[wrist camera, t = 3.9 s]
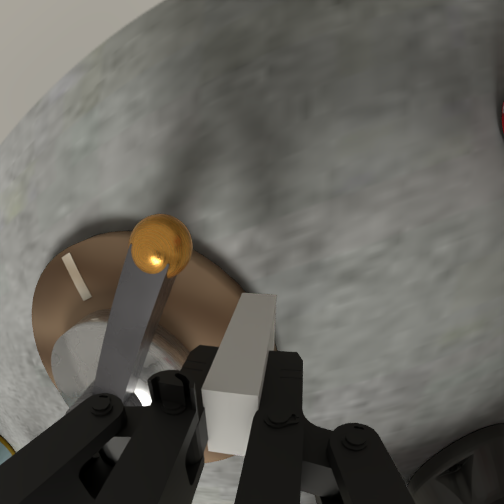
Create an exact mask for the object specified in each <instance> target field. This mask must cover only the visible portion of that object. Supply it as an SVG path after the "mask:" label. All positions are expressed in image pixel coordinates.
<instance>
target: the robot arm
mask: <svg viewBox="0 0 504 504" xmlns="http://www.w3.org/2000/svg"><path fill="white" fill-rule="evenodd" d="M276 298H277V295H270V294H254V293H242V294H241V297H240V299H239V302H238V304H237V306H236V309H235V311H234V313H233V316H232V318H231V321H230V323H229V325H228V328H227V330H226V332H225V335H224V337H223V339H222V342H221V344H220V347H215V346H206V345H199V346H197V347H196V348H195V349H193V350H192V351H190V353H189V355H188V357H187V359H186V362H184V364H183V366H182V369H180V371H179V370H164V371H159V372H157V373H155V374H153V375H152V376H151V377H149V378H148V379H147V382H148V387H149V392H150V396H151V401H152V402H151V404H150V405H148V406H124V405H123V403H122V400H121V399H120V398H119V397H117V396H116V395H113V394H109V393H99V394H95V395H92V396H90V397H89V398H87V399H85V400H84V401H83V402H82V403H80V404H79V405H78V406H76V407H75V408H74V409H73V410H71V411H70V412H69V413H67V414H66V415H65V416H63V417H62V418H61V419H60V420H58V421H57V422H56V423H54V424H53V425H52V426H51V427H49V428H48V429H47V430H45V431H44V432H43V433H41V434H40V435H39V436H37V437H36V438H35V439H34V440H32V441H31V442H30V443H28V444H27V445H26V446H24V447H23V448H22V449H20V450H19V451H18V452H17V453H15V454H14V455H13V456H11V457H10V458H9V459H7V460H6V461H5V462H3V463H2V464H1V465H0V504H191V503H192V500H193V497H194V494H195V491H196V488H197V485H198V482H199V479H200V476H201V473H202V470H203V467H204V460H205V458H204V450H205V447H206V444H208V451H211V452H218V453H224V454H232V455H239V456H245V458H244V463H243V468H242V472H241V477H240V481H239V485H238V490H237V494H236V499H235V503H234V504H300V492H301V491H304V492H307V493H311V494H314V495H315V498H316V502H317V504H504V424H498V425H493V426H490V427H487V428H484V429H481V430H479V431H476V432H474V433H472V434H470V435H467V436H466V437H464V438H462V439H460V440H458V441H456V442H455V443H453V444H451V445H450V446H448V447H447V448H445V449H443V450H442V451H441V452H439V453H438V454H436V455H435V456H434V457H432V458H431V459H430V460H429V461H427V462H426V463H425V464H424V465H423V466H422V467H421V468H420V469H419V470H418V471H417V472H416V473H415V475H414V476H413V477H412V479H411V480H410V482H409V484H408V488H407V487H406V485H405V483H404V481H403V479H402V477H401V476H400V474H399V472H398V470H397V468H396V466H395V464H394V463H393V461H392V459H391V457H390V455H389V453H388V452H387V450H386V448H385V446H384V444H383V442H382V441H381V439H380V437H379V435H378V434H377V433H376V432H375V431H374V429H372V428H370V427H368V426H367V425H363V424H359V423H347V424H344V425H341V426H338V427H337V428H336V429H335V430H333V431H331V430H327V429H324V428H320V427H318V426H315V425H314V424H312V423H310V422H309V421H308V420H307V419H306V418H305V416H304V414H303V410H302V391H303V360H302V359H301V357H300V356H299V354H298V353H297V352H284V351H274V339H275V319H276Z"/></svg>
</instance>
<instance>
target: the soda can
mask: <svg viewBox="0 0 504 504" xmlns="http://www.w3.org/2000/svg"><path fill="white" fill-rule="evenodd" d="M502 126H503V133H504V102H503V107H502Z"/></svg>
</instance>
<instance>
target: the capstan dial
mask: <svg viewBox="0 0 504 504" xmlns="http://www.w3.org/2000/svg"><path fill="white" fill-rule="evenodd" d="M192 249H193V245H192V238H191V235H190V233H189V231H188V229H187V227H186V226H185V225H184V224H183V223H182V222H181V221H180V220H179V219H177V218H175V217H173V216H171V215H167V214H155V215H151V216H148V217H146V218H144V219H143V220H141V221H140V222H139V223H138V224H137V225H136V226H135V227H134V229H133V231H132V232H131V235H130V238H129V243H128V252H127V255H126V259H125V262H124V265H123V269H122V272H121V275H120V279H119V282H118V286H117V289H116V293H115V296H114V300H113V304H112V308H111V309H103V310H98V311H95V312H92V313H90V314H88V315H87V316H85V317H84V318H83V319H81V320H80V321H79V322H78V323H76V324H75V325H74V326H73V327H71V328H70V329H69V330H68V331H67V332H65V333H64V334H63V335H62V336H61V337H60V338H59V339H58V340H57V341H56V343H55V345H54V347H53V350H52V355H51V368H52V373H53V377H54V380H55V383H56V386H57V388H58V390H59V392H60V394H61V396H62V397H63V399H64V401H65V402H66V404H67V405H68V406H69V410H68V411H67V412H66V414H67V413H69V412H70V411H71V410H73V409H74V408H75V407H76V406H78V405H79V404H80V403H82V402H83V401H84V400H85V399H87V398H89V397H90V396H92V395H95V394H99V393H109V394H113V395H116V396H117V397H119V398H120V399H121V400H122V403H123V405H124V406H148V405H150V404H151V402H152V401H151V396H150V392H149V387H148V382H147V379H148V378H149V377H151V376H152V375H153V374H155V373H157V372H159V371H164V370H179V371H180V369H182V366H183V364H184V362H186V359H187V357H188V355H189V353H190V351H189V350H188V349H187V348H186V347H185V346H184V345H183V344H182V343H181V342H180V341H179V340H178V339H177V338H176V337H175V336H174V335H173V334H171V333H170V332H169V331H167V330H166V329H165V328H163V327H162V326H160V325H159V324H158V323H159V321H160V318H161V315H162V313H163V310H164V308H165V305H166V302H167V300H168V297H169V295H170V292H171V289H172V287H173V284H174V282H175V279H176V277H177V275H178V274H179V273H180V272H181V271H183V270H184V268H185V267H186V266H187V264H188V263H189V261H190V258H191V255H192Z"/></svg>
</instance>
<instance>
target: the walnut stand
mask: <svg viewBox="0 0 504 504" xmlns="http://www.w3.org/2000/svg"><path fill="white" fill-rule="evenodd" d="M131 232H132V231H117V232H108V233H104V234H99V235H96V236H93V237H91V238H88V239H86V240H84V241H82V242H79V243H77V244H75V245H72V246H70V247H68V248H66V249H65V250H63V251H62V252H61V253H59V254H58V255H56V256H55V258H54V259H53V260H52V261H51V262H50V263H49V264H48V265H47V266H46V268H45V270H44V271H43V273H42V274H41V276H40V278H39V281H38V283H37V285H36V289H35V293H34V297H33V304H32V326H33V332H34V338H35V342H36V346H37V349H38V352H39V355H40V357H41V360H42V363H43V365H44V367H45V369H46V371H47V373H48V375H49V377H50V378H51V380H52V382H53V383H54V385H55V386H56V383H55V380H54V377H53V373H52V368H51V355H52V350H53V347H54V345H55V343H56V341H57V340H58V339H59V338H60V337H61V336H62V335H63V334H64V333H65V332H67V331H68V330H69V329H70V328H71V327H73V326H74V325H75V324H76V323H78V322H79V321H80V320H81V319H83V318H84V317H85V316H87V315H88V314H90V313H92V312H95V311H98V310H103V309H111V308H112V304H113V300H114V296H115V293H116V289H117V286H118V282H119V279H120V275H121V272H122V269H123V265H124V262H125V259H126V255H127V252H128V243H129V238H130V235H131ZM242 293H246V292H245V291H244V290H243V289H242V288H241V287H240V285H239V284H238V283H237V282H236V281H235V280H234V279H233V278H231V277H230V276H229V275H228V274H227V273H226V272H225V271H224V270H222V269H221V268H220V267H219V266H217V265H216V264H215V263H213V262H212V261H210V260H209V259H207V258H206V257H204V256H203V255H202V254H200V253H198V252H196V251H194V250H192V255H191V258H190V261H189V263H188V264H187V266H186V267H185V268H184V270H183V271H181V272H180V273H179V274H178V275H177V277H176V279H175V282H174V284H173V287H172V289H171V292H170V295H169V297H168V300H167V302H166V305H165V308H164V310H163V313H162V315H161V318H160V321H159V323H158V324H159V325H160V326H162V327H163V328H165V329H166V330H167V331H169V332H170V333H171V334H173V335H174V336H175V337H176V338H177V339H178V340H179V341H180V342H181V343H182V344H183V345H184V346H185V347H186V348H187V349H188V350H189V351H192V350H193V349H195V348H196V347H197V346H199V345H206V346H215V347H220V344H221V342H222V339H223V337H224V335H225V332H226V330H227V328H228V325H229V323H230V321H231V318H232V316H233V313H234V311H235V309H236V306H237V304H238V302H239V299H240V297H241V294H242ZM274 351H277V348H276V345H275V342H274ZM56 388H57V386H56ZM57 389H58V388H57ZM58 391H59V390H58ZM231 456H234V455H232V454H224V453H218V452H211V451H208V444H206V447H205V450H204V458H205V460H204V463H208V462H214V461H219V460H223V459H226V458H229V457H231Z"/></svg>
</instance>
